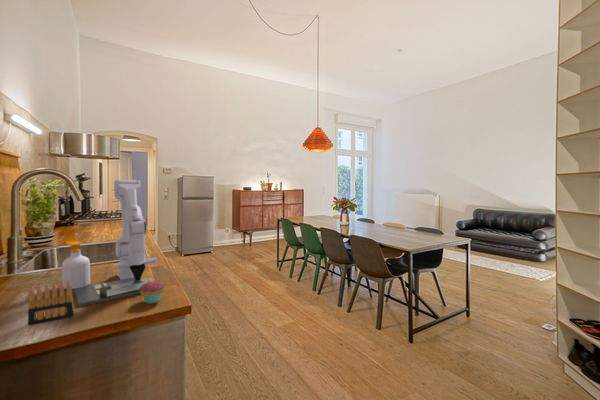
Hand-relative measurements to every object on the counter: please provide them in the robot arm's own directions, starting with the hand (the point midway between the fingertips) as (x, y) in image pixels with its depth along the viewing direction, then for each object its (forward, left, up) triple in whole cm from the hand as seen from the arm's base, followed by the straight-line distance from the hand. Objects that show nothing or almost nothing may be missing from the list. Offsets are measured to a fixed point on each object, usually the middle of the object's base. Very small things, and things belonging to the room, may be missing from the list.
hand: (137, 283), depth 115 cm
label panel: (-3, -8, -2) cm, 9 cm away
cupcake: (+16, +2, -3) cm, 16 cm away
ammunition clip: (+12, -26, -3) cm, 29 cm away
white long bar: (+4, -4, -1) cm, 6 cm away
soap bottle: (-19, -18, -3) cm, 27 cm away
